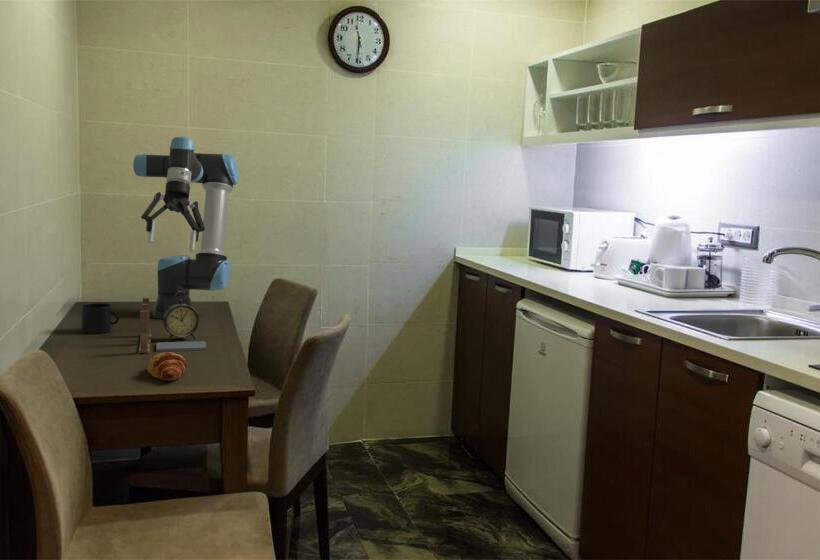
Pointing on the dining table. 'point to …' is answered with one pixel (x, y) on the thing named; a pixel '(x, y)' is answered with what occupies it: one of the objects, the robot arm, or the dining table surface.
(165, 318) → the alarm clock
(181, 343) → the pad
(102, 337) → the dining table surface
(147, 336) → the slalom posts
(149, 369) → the croissant
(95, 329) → the mug
